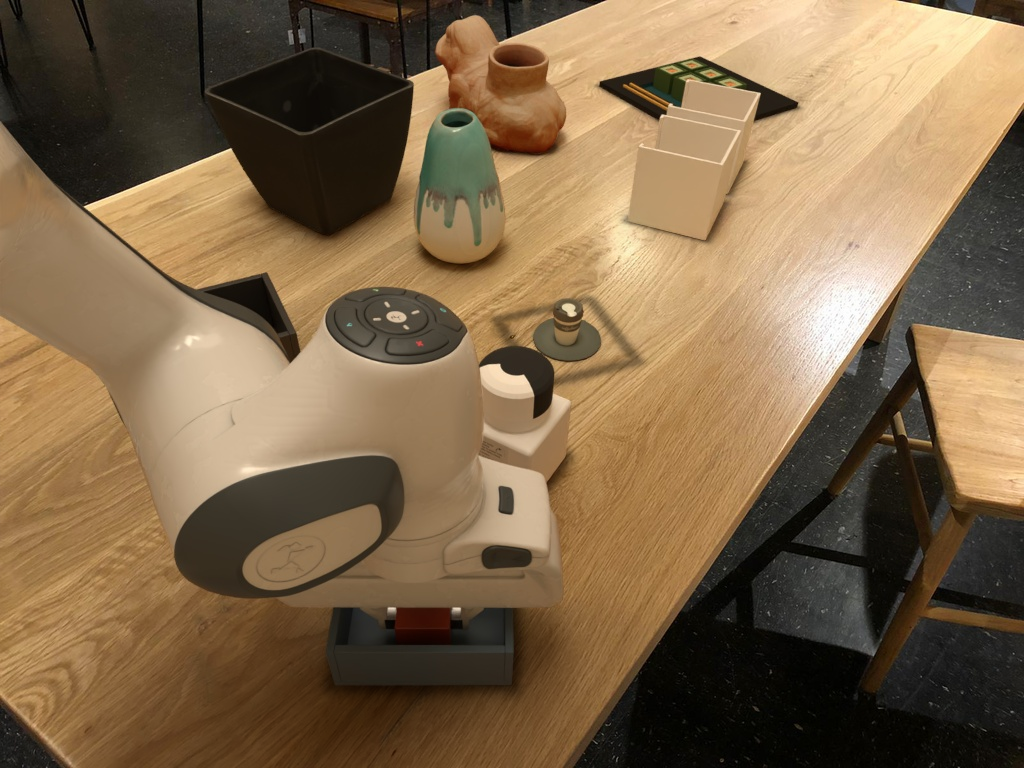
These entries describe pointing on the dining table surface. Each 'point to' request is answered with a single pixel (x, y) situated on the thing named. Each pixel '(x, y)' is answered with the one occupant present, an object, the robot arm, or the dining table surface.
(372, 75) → the flower pot
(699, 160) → the storage container
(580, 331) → the coffee cup
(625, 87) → the sushi
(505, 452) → the container
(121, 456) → the dining table surface
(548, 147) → the ceramic vessel
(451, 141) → the vase
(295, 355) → the basket
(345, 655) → the box
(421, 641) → the block
